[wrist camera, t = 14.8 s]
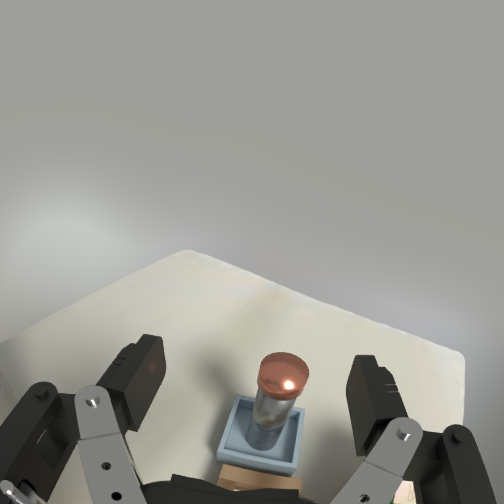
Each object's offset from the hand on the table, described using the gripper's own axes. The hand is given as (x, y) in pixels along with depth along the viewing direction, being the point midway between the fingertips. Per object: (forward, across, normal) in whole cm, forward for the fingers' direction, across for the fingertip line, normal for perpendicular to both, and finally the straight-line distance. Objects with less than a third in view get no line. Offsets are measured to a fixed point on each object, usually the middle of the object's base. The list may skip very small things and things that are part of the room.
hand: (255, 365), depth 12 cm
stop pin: (+14, -1, +24) cm, 28 cm away
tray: (+14, -1, +25) cm, 29 cm away
